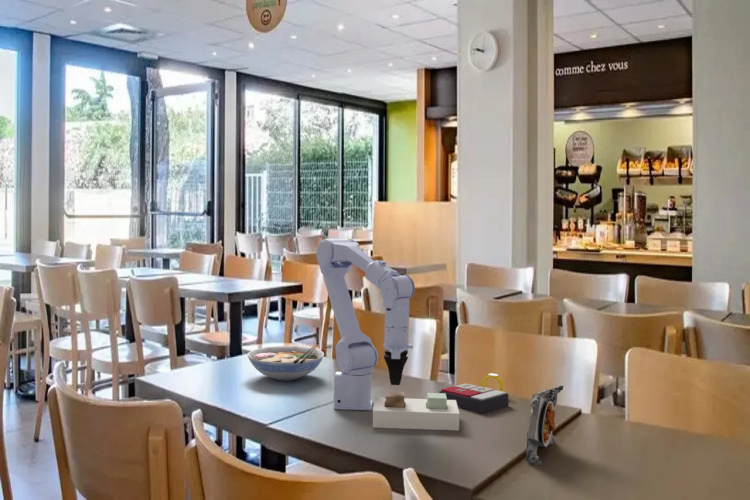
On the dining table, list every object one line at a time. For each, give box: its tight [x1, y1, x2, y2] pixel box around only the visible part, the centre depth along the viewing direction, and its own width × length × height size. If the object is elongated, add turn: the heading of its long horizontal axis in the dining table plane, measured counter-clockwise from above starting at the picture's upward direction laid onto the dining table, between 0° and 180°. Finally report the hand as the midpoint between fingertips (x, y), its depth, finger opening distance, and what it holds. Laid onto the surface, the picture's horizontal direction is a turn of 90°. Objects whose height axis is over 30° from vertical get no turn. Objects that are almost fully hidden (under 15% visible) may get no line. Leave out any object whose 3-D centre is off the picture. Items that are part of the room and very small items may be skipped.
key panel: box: [372, 396, 460, 431], centre depth 161 cm, size 20×11×4 cm, turn 87°
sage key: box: [426, 392, 447, 409], centre depth 161 cm, size 4×4×4 cm
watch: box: [481, 372, 505, 392], centre depth 186 cm, size 6×3×6 cm, turn 53°
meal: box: [525, 385, 564, 466], centre depth 142 cm, size 15×4×13 cm, turn 153°
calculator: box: [438, 383, 509, 415], centre depth 178 cm, size 11×4×15 cm
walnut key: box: [385, 391, 405, 408], centre depth 161 cm, size 4×4×4 cm
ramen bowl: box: [246, 345, 325, 382], centre depth 200 cm, size 25×23×8 cm
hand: (395, 382), depth 161 cm, fingers open, 4 cm apart
